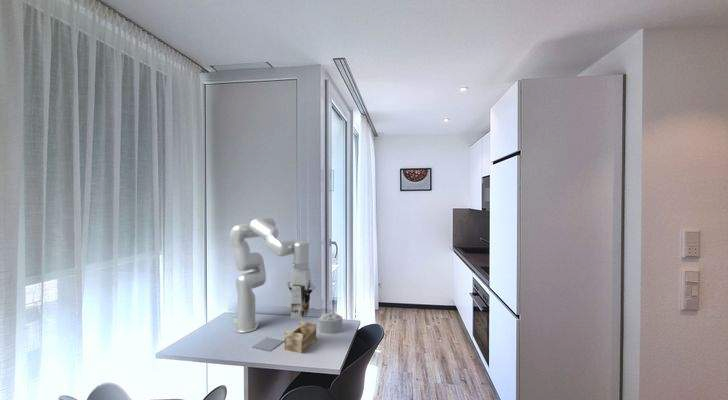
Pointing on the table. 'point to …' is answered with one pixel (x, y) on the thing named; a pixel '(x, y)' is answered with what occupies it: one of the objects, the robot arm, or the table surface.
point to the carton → (301, 337)
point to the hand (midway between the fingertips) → (300, 300)
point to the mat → (268, 344)
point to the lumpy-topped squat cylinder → (330, 323)
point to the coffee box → (299, 302)
